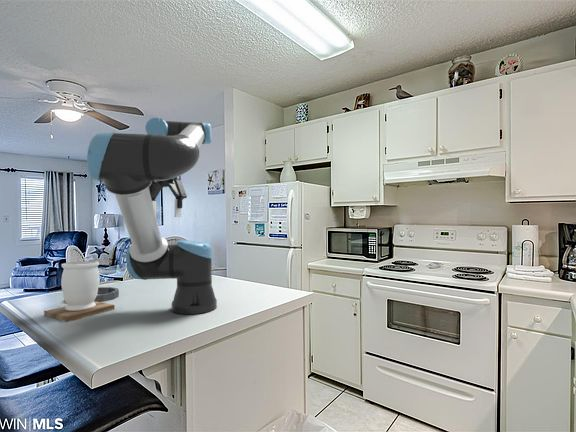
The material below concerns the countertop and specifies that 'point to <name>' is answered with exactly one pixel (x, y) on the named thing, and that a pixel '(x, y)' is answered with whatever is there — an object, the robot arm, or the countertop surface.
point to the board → (78, 312)
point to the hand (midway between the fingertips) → (165, 217)
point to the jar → (80, 284)
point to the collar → (106, 294)
